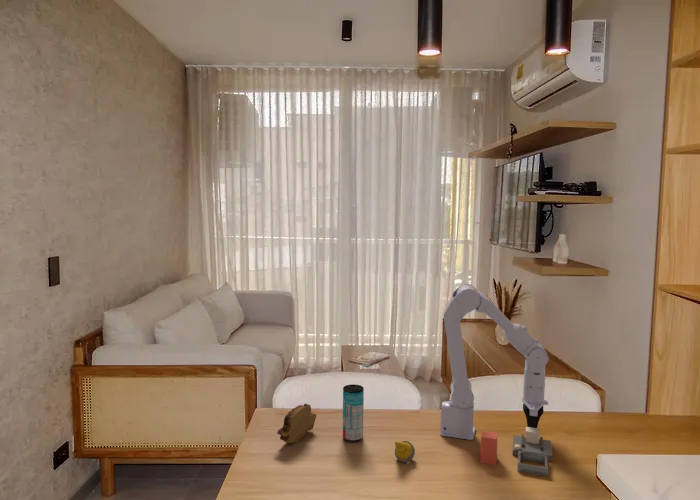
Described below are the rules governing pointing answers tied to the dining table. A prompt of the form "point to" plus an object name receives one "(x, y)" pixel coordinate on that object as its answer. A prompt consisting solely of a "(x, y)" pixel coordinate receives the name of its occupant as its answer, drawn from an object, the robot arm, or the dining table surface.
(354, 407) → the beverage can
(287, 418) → the wooden carving
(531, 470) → the frame
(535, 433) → the switch
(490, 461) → the peg
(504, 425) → the dining table surface
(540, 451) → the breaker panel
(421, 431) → the dining table surface
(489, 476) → the dining table surface
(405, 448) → the yellow flanged cylinder
